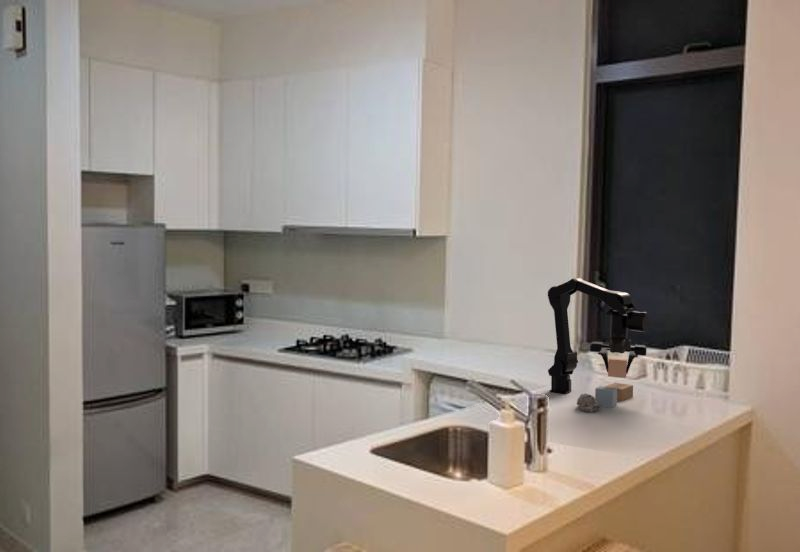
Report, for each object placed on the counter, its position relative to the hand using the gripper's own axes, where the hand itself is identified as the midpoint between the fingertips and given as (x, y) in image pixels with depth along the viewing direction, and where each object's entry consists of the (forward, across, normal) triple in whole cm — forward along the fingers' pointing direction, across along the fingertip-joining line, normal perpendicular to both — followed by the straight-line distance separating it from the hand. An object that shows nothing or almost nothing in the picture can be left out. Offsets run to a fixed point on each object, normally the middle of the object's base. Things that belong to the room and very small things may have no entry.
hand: (617, 372), depth 252 cm
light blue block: (+10, -3, -6) cm, 13 cm away
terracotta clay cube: (+1, 0, 0) cm, 1 cm away
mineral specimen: (+11, -8, -14) cm, 19 cm away
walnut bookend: (+11, 0, +7) cm, 13 cm away
